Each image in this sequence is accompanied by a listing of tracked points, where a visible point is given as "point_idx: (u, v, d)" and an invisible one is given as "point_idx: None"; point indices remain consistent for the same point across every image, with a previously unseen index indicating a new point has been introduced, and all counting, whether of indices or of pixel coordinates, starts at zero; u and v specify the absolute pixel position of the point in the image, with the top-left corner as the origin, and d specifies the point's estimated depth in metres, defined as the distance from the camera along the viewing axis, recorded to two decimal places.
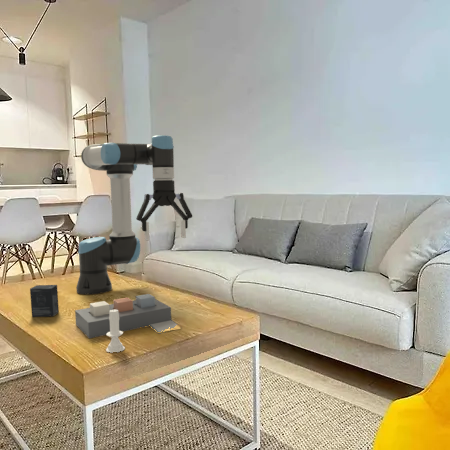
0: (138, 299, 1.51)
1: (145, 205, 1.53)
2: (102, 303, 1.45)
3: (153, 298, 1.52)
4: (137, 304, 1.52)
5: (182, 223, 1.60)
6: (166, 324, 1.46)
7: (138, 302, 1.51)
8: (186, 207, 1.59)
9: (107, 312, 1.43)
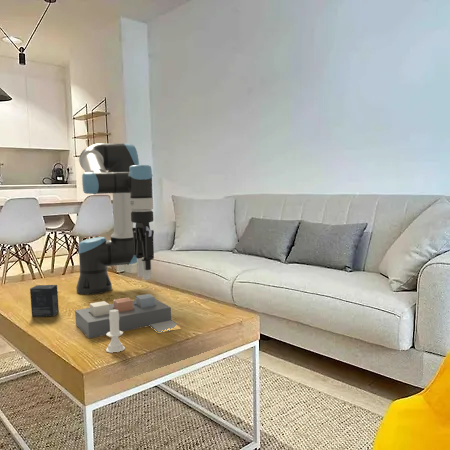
0: (138, 299, 1.51)
1: (133, 239, 1.55)
2: (102, 303, 1.45)
3: (153, 298, 1.52)
4: (137, 304, 1.52)
5: None
6: (166, 324, 1.46)
7: (138, 302, 1.51)
8: (146, 247, 1.46)
9: (107, 312, 1.43)
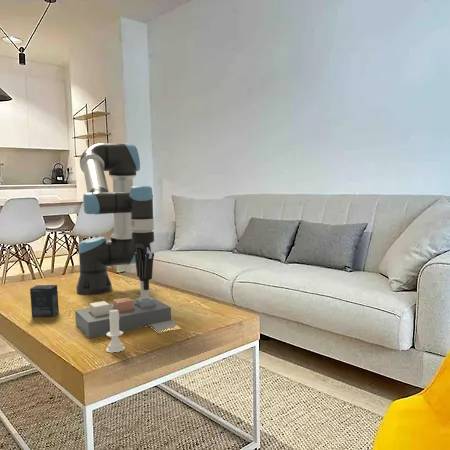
0: (138, 302, 1.51)
1: (135, 260, 1.54)
2: (102, 303, 1.45)
3: (153, 301, 1.52)
4: None
5: None
6: (166, 324, 1.46)
7: (138, 305, 1.51)
8: (145, 268, 1.48)
9: (107, 312, 1.43)
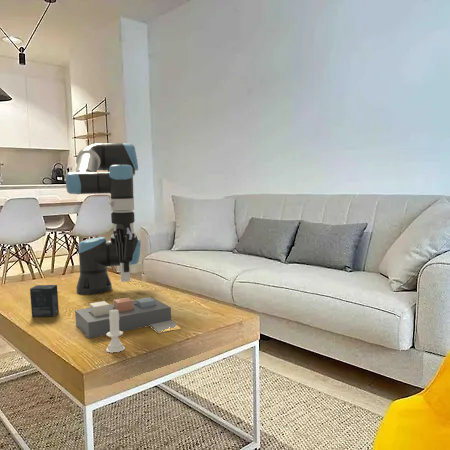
0: (138, 303, 1.51)
1: (115, 242, 1.50)
2: (102, 303, 1.45)
3: (153, 302, 1.52)
4: None
5: None
6: (166, 324, 1.46)
7: (138, 306, 1.51)
8: (125, 249, 1.43)
9: (107, 312, 1.43)
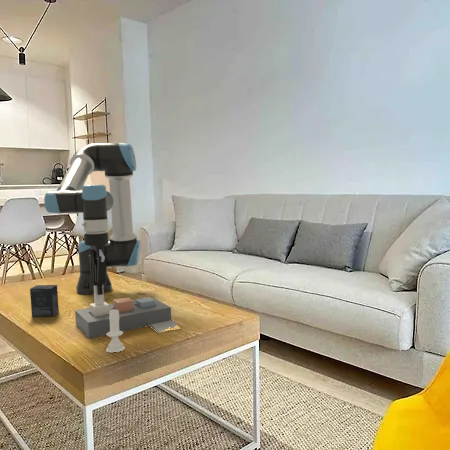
0: (138, 303, 1.51)
1: (90, 263, 1.46)
2: None
3: (153, 302, 1.52)
4: None
5: None
6: (166, 324, 1.46)
7: (138, 306, 1.51)
8: (97, 272, 1.39)
9: (107, 312, 1.43)
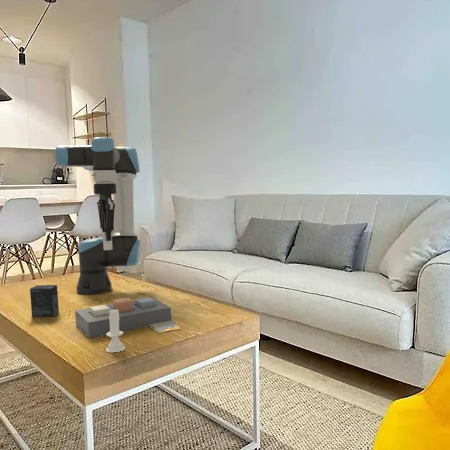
0: (138, 303, 1.51)
1: (99, 213, 1.57)
2: (102, 307, 1.45)
3: (153, 302, 1.52)
4: None
5: None
6: (166, 324, 1.46)
7: (138, 306, 1.51)
8: (106, 219, 1.50)
9: None
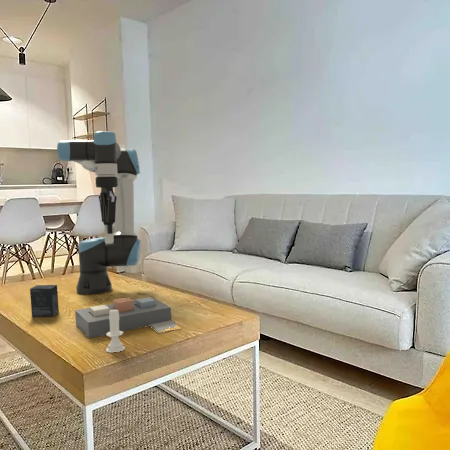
0: (138, 303, 1.51)
1: (100, 206, 1.58)
2: (102, 307, 1.45)
3: (153, 302, 1.52)
4: None
5: None
6: (166, 324, 1.46)
7: (138, 306, 1.51)
8: (108, 211, 1.52)
9: None
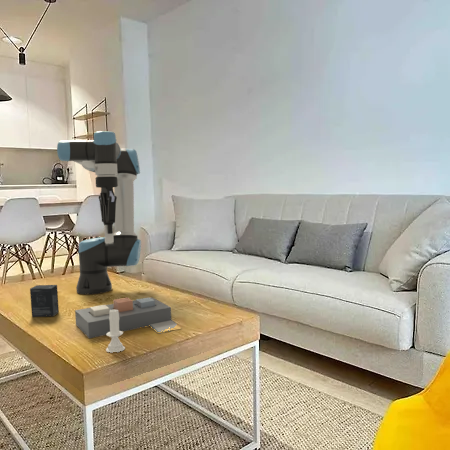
0: (138, 303, 1.51)
1: (100, 206, 1.58)
2: (102, 307, 1.45)
3: (153, 302, 1.52)
4: None
5: None
6: (166, 324, 1.46)
7: (138, 306, 1.51)
8: (108, 211, 1.52)
9: None
